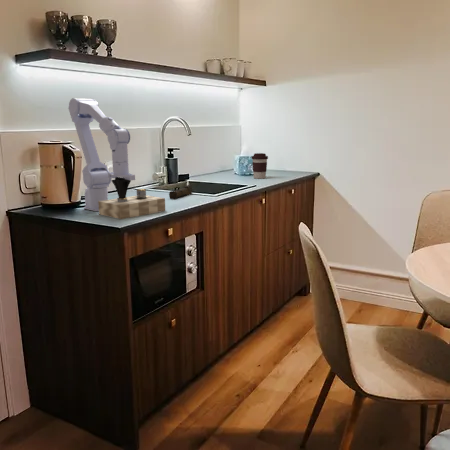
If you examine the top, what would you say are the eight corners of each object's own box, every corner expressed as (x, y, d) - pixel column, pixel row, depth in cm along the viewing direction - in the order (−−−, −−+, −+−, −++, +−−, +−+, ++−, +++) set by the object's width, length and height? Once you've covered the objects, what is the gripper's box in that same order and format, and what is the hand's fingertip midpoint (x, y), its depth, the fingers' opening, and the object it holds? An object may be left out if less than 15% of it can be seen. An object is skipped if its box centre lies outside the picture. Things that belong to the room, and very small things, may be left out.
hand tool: (176, 199, 212) (176, 189, 211) (168, 199, 214) (168, 189, 213) (196, 194, 229) (196, 184, 228) (189, 193, 230) (189, 184, 229)
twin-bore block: (99, 214, 179) (98, 201, 178) (143, 206, 194) (142, 194, 193) (120, 219, 169) (120, 205, 168) (165, 210, 185) (164, 198, 184)
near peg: (116, 209, 178) (115, 198, 177) (124, 208, 180) (123, 196, 180) (121, 210, 176) (121, 199, 175) (129, 209, 178) (129, 197, 177)
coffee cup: (248, 177, 290) (248, 153, 287) (262, 177, 294) (262, 152, 291) (256, 179, 281) (256, 154, 278) (270, 178, 285) (271, 153, 282)
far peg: (135, 200, 184) (134, 189, 183) (142, 199, 186) (141, 188, 186) (140, 201, 182) (140, 190, 181) (148, 200, 184) (147, 189, 183)
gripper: (99, 161, 176) (102, 197, 179) (123, 163, 166) (125, 201, 169) (115, 160, 181) (117, 195, 184) (139, 162, 172) (140, 199, 174)
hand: (122, 198), depth 177 cm, fingers closed, pressing on near peg
